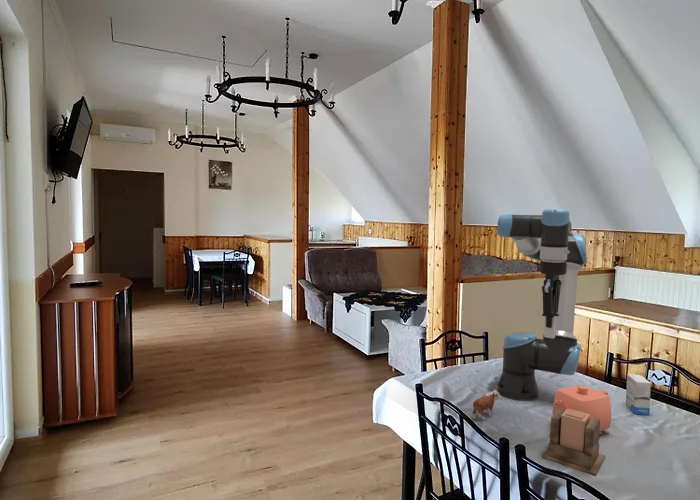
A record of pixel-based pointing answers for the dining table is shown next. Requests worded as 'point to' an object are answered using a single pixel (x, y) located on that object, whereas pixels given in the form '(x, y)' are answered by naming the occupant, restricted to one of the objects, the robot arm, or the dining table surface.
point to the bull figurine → (485, 403)
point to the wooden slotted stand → (573, 458)
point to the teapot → (585, 403)
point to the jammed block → (574, 429)
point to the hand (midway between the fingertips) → (549, 337)
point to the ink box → (638, 394)
